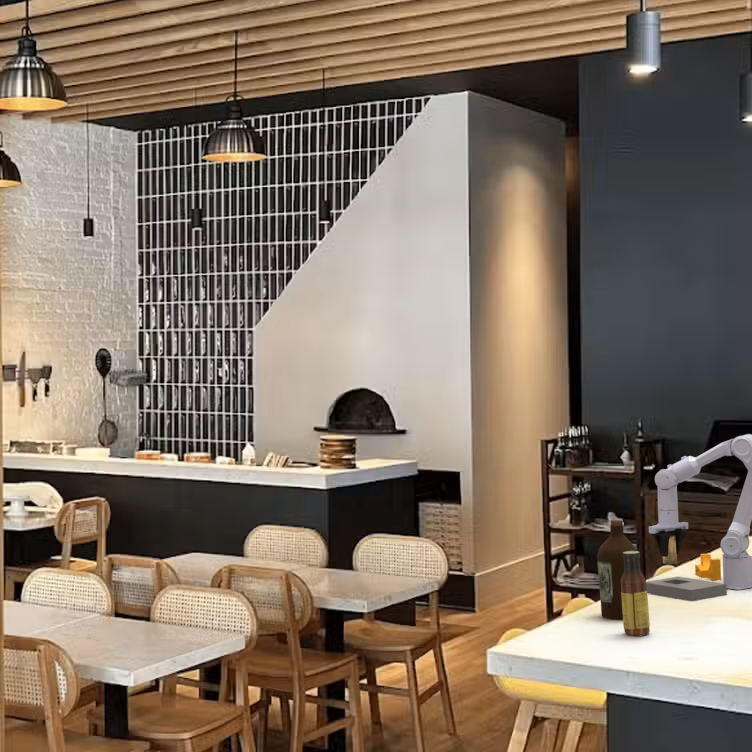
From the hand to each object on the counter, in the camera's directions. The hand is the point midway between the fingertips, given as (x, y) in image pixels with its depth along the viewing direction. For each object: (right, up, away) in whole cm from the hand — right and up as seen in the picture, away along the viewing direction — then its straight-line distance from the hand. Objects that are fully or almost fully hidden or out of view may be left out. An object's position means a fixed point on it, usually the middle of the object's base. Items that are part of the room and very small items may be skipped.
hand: (669, 555), depth 369 cm
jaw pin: (0, -2, 0) cm, 2 cm away
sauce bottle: (-24, -10, -67) cm, 72 cm away
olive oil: (-24, -10, -45) cm, 52 cm away
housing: (0, -8, -17) cm, 19 cm away
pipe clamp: (+14, -8, +9) cm, 18 cm away
